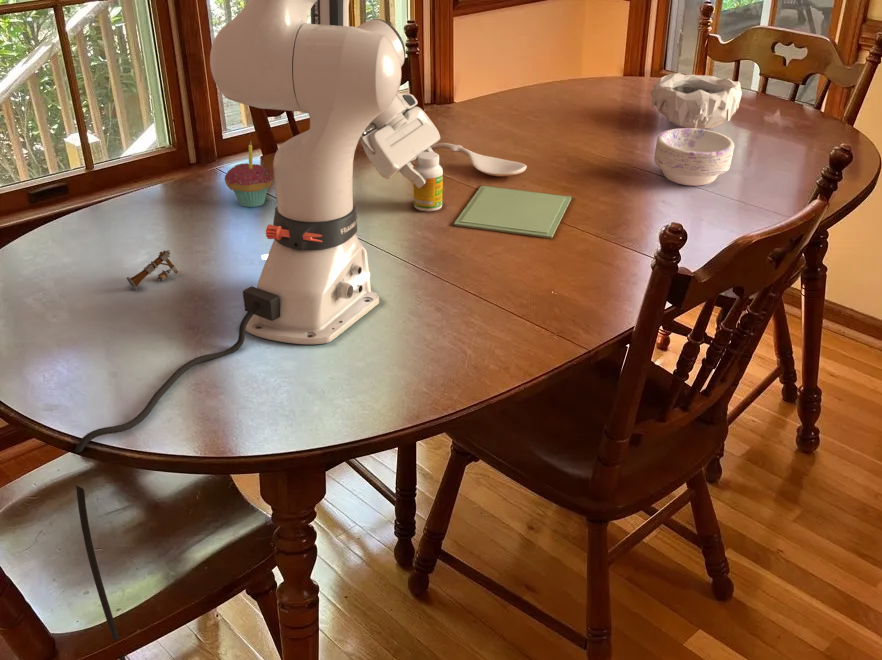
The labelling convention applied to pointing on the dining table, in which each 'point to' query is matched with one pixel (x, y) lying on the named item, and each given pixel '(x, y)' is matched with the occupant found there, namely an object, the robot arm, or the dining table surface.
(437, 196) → the supplement bottle
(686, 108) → the bowl
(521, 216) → the placemat
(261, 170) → the cupcake
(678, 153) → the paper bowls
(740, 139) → the dining table surface
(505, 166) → the white spork utensil
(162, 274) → the wooden post with brackets
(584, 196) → the dining table surface
